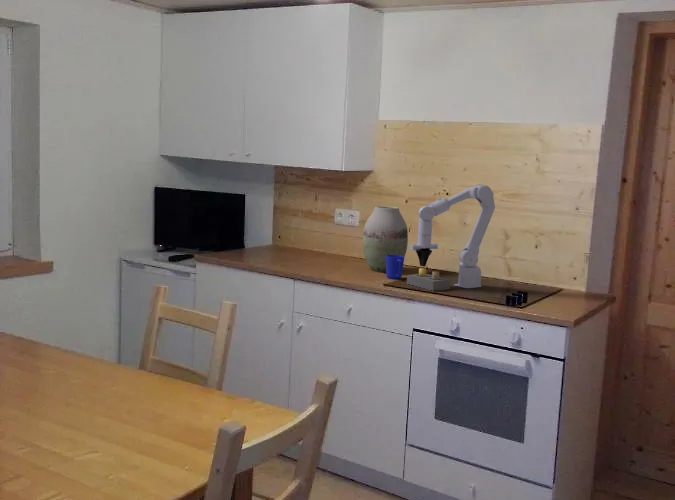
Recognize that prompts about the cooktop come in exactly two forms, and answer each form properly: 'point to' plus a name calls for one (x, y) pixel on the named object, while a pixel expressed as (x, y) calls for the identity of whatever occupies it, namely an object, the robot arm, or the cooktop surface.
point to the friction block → (428, 282)
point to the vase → (384, 236)
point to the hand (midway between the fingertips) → (422, 266)
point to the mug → (394, 266)
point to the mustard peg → (422, 272)
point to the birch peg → (435, 275)
